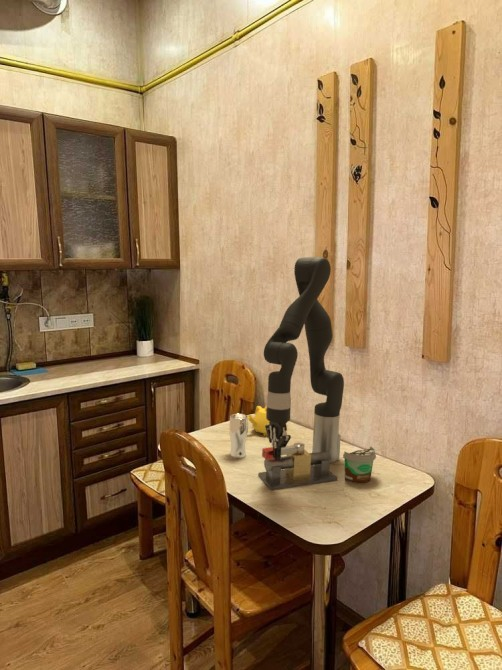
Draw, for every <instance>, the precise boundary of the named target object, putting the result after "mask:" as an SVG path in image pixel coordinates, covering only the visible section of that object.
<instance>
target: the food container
mask: <svg viewBox="0 0 502 670" xmlns="http://www.w3.org/2000/svg"><path fill="white" fill-rule="evenodd" d="M342 455H343V456H342V458H343V459H344V479H345V481H348V482H350V483H354V484H366V483H369V482H370V481H371V478H372V472H373V466H374V460H376V458H377V454H376V450H375V448H374V447H372V446H370V447H369V448H368V449H359V450H355V451H353V452H347V451H344V453H343V454H342Z"/></svg>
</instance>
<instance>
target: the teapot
mask: <svg viewBox="0 0 502 670" xmlns="http://www.w3.org/2000/svg"><path fill="white" fill-rule="evenodd" d="M266 409H267V405H266V406H264V408H263V407H262V406H260V405H256V408H255V412H254V416H253V415H252V414H248V415H247V416H248V422H250V423H251V426H252V428H253V430H255V432H256V433H260V434H262V436H264V437H268V435H267V431H266V428H265V426H266V425H269V421H268V420H267V419H266Z"/></svg>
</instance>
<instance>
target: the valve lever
mask: <svg viewBox="0 0 502 670" xmlns="http://www.w3.org/2000/svg"><path fill="white" fill-rule="evenodd" d="M304 450H305V444H304V443H302V442H295V443H293V445H286V447H284V448H281V457H283V456H287V454H293V453H296V454H303V453H304ZM261 451H262V453H261V456H262V458H264V460H265V459H266V460H267V459H272V458H273V447H272V446H270V447H263V448H262V450H261Z"/></svg>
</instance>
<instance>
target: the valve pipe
mask: <svg viewBox="0 0 502 670" xmlns="http://www.w3.org/2000/svg"><path fill="white" fill-rule="evenodd" d="M331 460H332V458H331V454H330V452H329V451H324V452H316V453H312V452H308V451H307V450H306V449H304V453H303V454H296V453H293V454H287V455H283V456H281V458H280V459H277V460H275V459H274V458H272V459H267V460H266V459H265V458H264V462H263V466H264V469H265V471H260V472H258V473H257V475H258V477H259V478H260V480H262V482H263V483H264V484H265V485H266V486H267V488H268V489H269V490H270V491H275V490H282V489H288V488H295V487H301V486H303V487H304V486H308V485H315V484H320V483H328V482H334V481H338V477H337V476H336V475H335V474H334V473H332V472H331V471H330V463H331Z"/></svg>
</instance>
